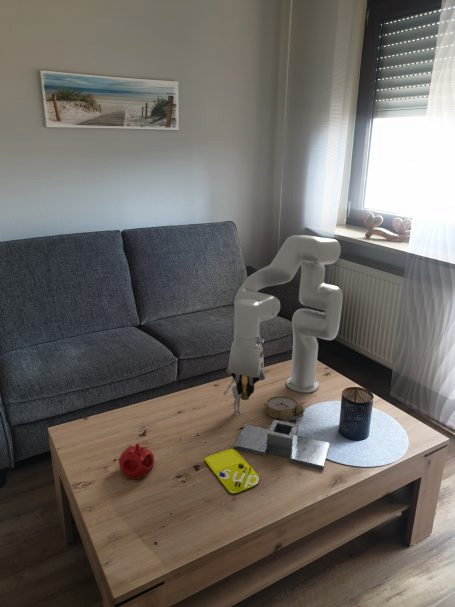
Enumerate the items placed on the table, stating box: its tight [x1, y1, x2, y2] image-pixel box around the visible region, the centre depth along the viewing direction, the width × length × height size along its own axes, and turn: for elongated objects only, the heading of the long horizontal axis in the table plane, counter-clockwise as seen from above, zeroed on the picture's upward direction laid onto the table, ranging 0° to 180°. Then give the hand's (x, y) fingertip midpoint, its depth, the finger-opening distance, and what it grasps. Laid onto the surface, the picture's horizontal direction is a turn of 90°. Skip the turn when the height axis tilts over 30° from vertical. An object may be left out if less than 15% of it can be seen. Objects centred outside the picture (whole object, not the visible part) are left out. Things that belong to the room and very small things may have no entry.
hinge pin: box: [240, 375, 250, 401], centre depth 150 cm, size 3×3×10 cm
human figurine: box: [223, 377, 243, 416], centre depth 168 cm, size 12×4×18 cm, turn 132°
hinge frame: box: [233, 419, 330, 471], centre depth 151 cm, size 12×28×7 cm, turn 70°
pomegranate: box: [118, 441, 155, 480], centre depth 139 cm, size 10×10×9 cm
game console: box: [204, 448, 260, 496], centre depth 142 cm, size 18×11×2 cm, turn 30°
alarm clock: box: [263, 395, 306, 423], centre depth 171 cm, size 11×5×15 cm
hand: (245, 393), depth 151 cm, fingers closed on hinge pin, 2 cm apart
